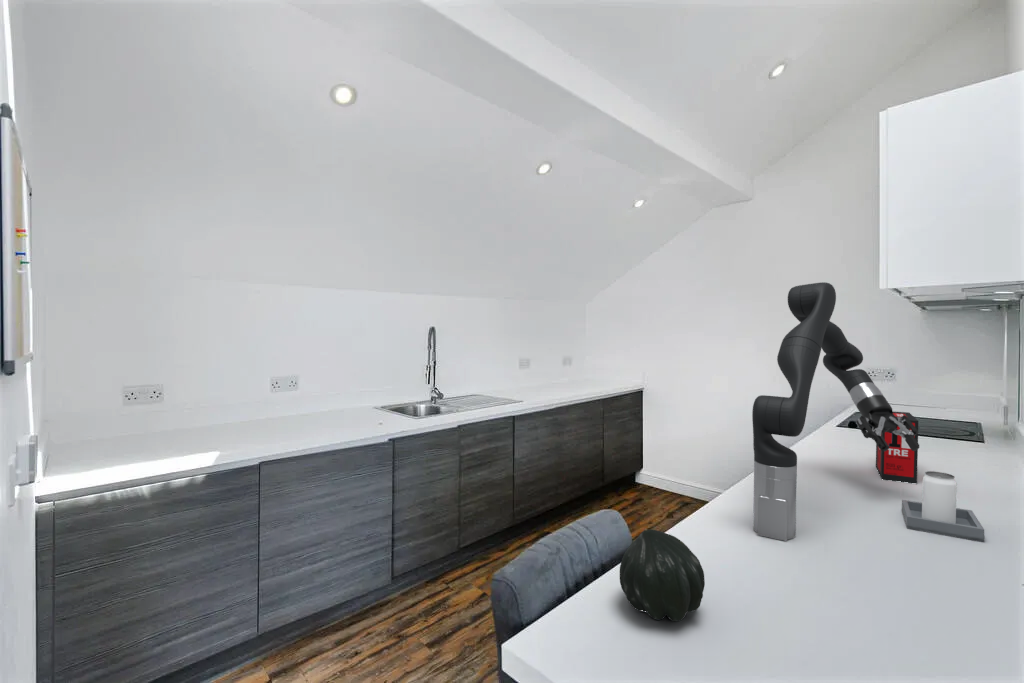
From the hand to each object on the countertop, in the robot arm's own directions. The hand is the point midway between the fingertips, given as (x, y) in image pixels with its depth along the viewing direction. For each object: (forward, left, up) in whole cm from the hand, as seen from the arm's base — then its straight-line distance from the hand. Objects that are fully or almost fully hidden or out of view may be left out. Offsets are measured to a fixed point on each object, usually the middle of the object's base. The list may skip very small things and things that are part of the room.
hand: (901, 449), depth 135 cm
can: (-9, -7, -16) cm, 19 cm away
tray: (-9, -7, -16) cm, 20 cm away
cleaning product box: (+36, -1, -16) cm, 39 cm away
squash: (-83, +40, -16) cm, 94 cm away
